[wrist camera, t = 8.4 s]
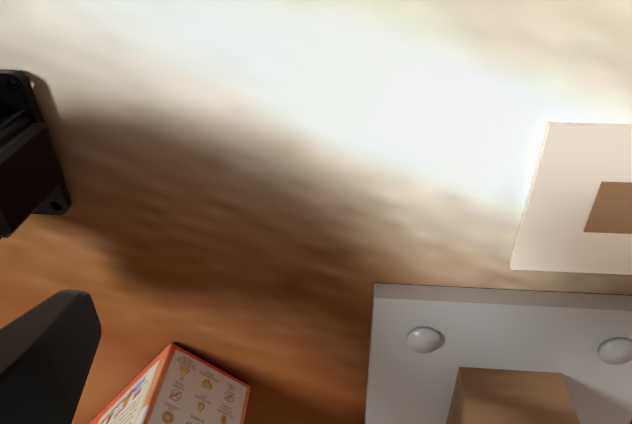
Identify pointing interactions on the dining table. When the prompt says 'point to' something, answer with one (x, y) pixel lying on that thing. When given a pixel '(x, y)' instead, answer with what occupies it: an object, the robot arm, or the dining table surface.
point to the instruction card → (579, 202)
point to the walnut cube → (510, 398)
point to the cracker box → (178, 394)
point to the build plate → (495, 347)
